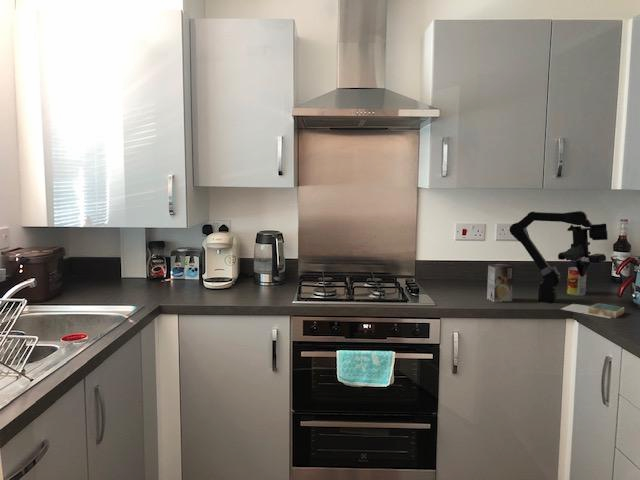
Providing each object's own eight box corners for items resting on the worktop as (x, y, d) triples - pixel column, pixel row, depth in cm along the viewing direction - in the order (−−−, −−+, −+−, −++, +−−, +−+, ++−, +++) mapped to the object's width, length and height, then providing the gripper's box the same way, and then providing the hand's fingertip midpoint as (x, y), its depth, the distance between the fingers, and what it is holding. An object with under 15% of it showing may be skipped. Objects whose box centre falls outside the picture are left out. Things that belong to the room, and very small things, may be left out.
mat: (560, 310, 218) (560, 309, 218) (573, 304, 228) (573, 303, 227) (609, 319, 204) (609, 318, 204) (621, 313, 214) (621, 311, 214)
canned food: (573, 291, 255) (575, 266, 254) (588, 294, 248) (590, 269, 247) (563, 292, 251) (564, 268, 250) (578, 296, 244) (579, 270, 243)
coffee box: (504, 298, 239) (506, 263, 237) (512, 301, 233) (514, 265, 231) (486, 299, 238) (487, 264, 236) (493, 302, 231) (495, 266, 229)
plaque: (588, 306, 211) (615, 311, 204) (597, 302, 218) (624, 307, 211) (588, 313, 212) (615, 317, 205) (597, 308, 219) (623, 313, 211)
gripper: (548, 242, 227) (551, 277, 229) (589, 245, 211) (591, 282, 213) (565, 238, 232) (567, 273, 234) (605, 240, 216) (607, 277, 218)
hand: (582, 276), depth 225 cm, fingers closed
